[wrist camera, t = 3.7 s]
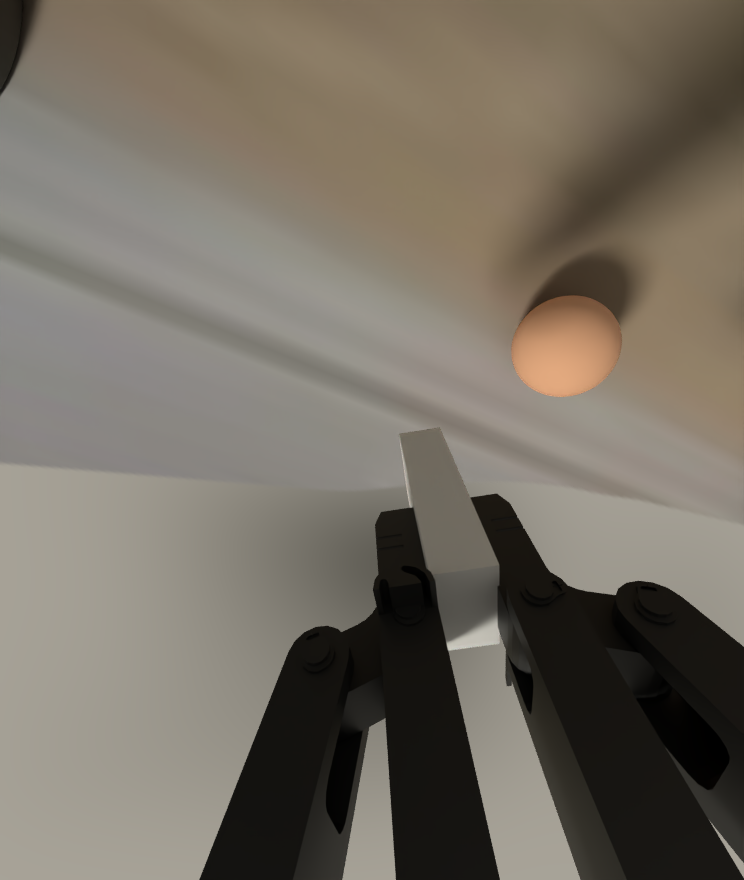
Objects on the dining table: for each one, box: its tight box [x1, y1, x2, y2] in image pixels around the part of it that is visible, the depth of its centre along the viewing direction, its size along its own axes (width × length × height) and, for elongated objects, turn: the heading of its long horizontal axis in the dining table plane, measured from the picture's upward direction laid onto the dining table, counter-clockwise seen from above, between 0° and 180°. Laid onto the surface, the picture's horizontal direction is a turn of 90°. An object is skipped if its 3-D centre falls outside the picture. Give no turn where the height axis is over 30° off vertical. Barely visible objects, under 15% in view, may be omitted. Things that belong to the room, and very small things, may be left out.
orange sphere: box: [511, 295, 622, 397], centre depth 22 cm, size 6×6×6 cm
